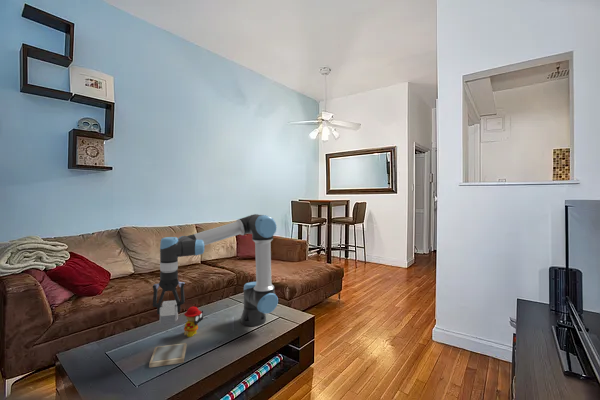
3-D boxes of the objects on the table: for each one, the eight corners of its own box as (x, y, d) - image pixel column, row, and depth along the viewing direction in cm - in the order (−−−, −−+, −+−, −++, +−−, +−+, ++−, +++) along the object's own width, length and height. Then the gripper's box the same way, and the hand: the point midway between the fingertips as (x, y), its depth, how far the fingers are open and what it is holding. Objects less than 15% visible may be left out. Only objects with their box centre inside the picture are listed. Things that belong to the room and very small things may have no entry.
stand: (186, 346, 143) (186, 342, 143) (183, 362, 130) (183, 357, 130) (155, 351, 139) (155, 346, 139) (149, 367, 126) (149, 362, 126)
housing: (174, 323, 131) (174, 306, 131) (160, 325, 130) (160, 307, 130) (176, 316, 139) (176, 300, 139) (163, 317, 137) (163, 301, 137)
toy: (194, 340, 150) (194, 311, 150) (178, 338, 152) (178, 310, 152) (205, 330, 161) (205, 303, 161) (190, 328, 163) (191, 302, 163)
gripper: (191, 267, 140) (191, 314, 141) (148, 270, 135) (148, 319, 135) (190, 271, 133) (190, 321, 133) (144, 274, 128) (144, 325, 128)
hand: (168, 319), depth 134 cm, fingers closed on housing, 6 cm apart
